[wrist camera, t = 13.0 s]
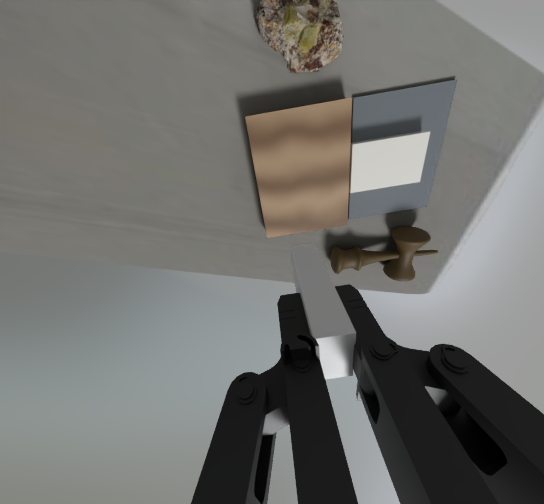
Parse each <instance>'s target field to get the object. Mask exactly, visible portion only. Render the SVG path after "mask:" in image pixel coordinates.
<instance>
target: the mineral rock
mask: <svg viewBox="0 0 544 504" xmlns="http://www.w3.org/2000/svg"><path fill="white" fill-rule="evenodd" d="M256 12H257V16H256V17H255V22H256V24H257V26H258V27H259V32H260V36H261V37H262V39H263V40H264V41H265V42H266V43H267V44H268V45H269V46H270V47H272V48H273V49H274V50H275V51H279V52H280V53H281V54H283V55H284V58H285V60H286V61H287V62H288V68H289V69H290V71H291V72H294V73H295V72H296V73H300V72H305V71H309V72H317V71H319V70H320V69H321V68H322V67H323V66H325V65H326V64H329V63H330V62H331V61H333V60H334V59H335V58H336V57H338V56H339V55H340V53H341V51H342V39H343V36H342V35H343V34H342V30H343V27H342V24H341V23H342V21H341V18H340V15H339V11H338V5H337V3H335V2H334V1H332V0H262V1H260V5H259V7H258V8H257V9H256Z"/></svg>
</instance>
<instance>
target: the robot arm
mask: <svg viewBox="0 0 544 504" xmlns="http://www.w3.org/2000/svg"><path fill="white" fill-rule="evenodd" d="M290 252H291V260H292V269H293V277H294V283H295V287H296V292H297V293H294V294H287V295H281V296H280V299H279V301H278V312H279V322H280V331H281V340H282V344H281V349H280V351H281V358H280V360H279V361H278V363H277V364H276V365H275V366H274V367H272V368H271V369H269V370H267V371H265V372H263V373H261V374H259V375H258V374H256V373H253V372H247V373H243V374H241V375H239V376H238V377H236V379H235V380H234V381H232V383H231V385H230V387H229V389H228V391H227V394H226V398H225V401H224V404H223V407H222V410H221V413H220V416H219V419H218V422H217V425H216V428H215V431H214V434H213V438H212V441H211V444H210V447H209V450H208V453H207V456H206V459H205V462H204V465H203V469H202V471H201V474H200V477H199V481H198V484H197V487H196V490H195V493H194V496H193V499H192V502H191V504H267V500H268V493H269V485H270V477H271V469H272V462H273V454H274V446H275V439H276V432H277V431H279V430H280V429H282V428H284V427H285V426H287V425H289V424H290V432H291V442H292V451H293V460H294V469H295V479H296V488H297V496H298V504H358V502H357V498H356V494H355V490H354V487H353V483H352V479H351V475H350V471H349V468H348V464H347V460H346V457H345V453H344V449H343V445H342V442H341V438H340V434H339V430H338V426H337V422H336V419H335V415H334V411H333V407H332V404H331V400H330V396H329V392H328V389H327V385H326V381H325V379H331V378H338V377H345V376H352V375H353V369H354V372H355V374H356V377H357V379H358V383H357V393H356V395H357V400H358V401H360V398H361V399H362V402H363V404H364V407H365V410H366V413H367V415H368V418H369V421H370V423H371V426H372V429H373V431H374V434H375V437H376V439H377V442H378V445H379V448H380V450H381V453H382V456H383V458H384V461H385V464H386V466H387V469H388V472H389V474H390V477H391V480H392V482H393V485H394V488H395V490H396V493H397V496H398V498H399V501H400V503H401V504H544V414H543V413H541V412H540V411H539V410H538V409H536V408H535V407H534V406H533V405H532V404H530V403H529V402H528V401H526V400H525V399H524V398H523V397H522V396H521V395H519V394H518V393H517V392H516V391H514V390H513V389H512V388H511V387H509V386H508V385H507V384H506V383H505V382H503V381H502V380H501V379H500V378H498V377H497V376H496V375H495V374H493V373H492V372H491V371H490V370H488V369H487V368H486V367H485V366H484V365H482V364H481V363H480V362H479V361H477V360H476V359H475V358H474V357H472V356H471V355H470V354H468V353H467V352H465V351H464V350H462V349H460V348H458V347H455V346H453V345H447V344H438V345H435V346H434V347H432V348H431V349H430V352H429V351H422V350H416V349H409V348H405V347H402V346H399V345H397V344H396V343H395V342H394V341H393V340H391V339H389V338H388V337H386V335H385V334H384V333H383V331H382V330H381V328H380V326H379V325H378V323H377V321H376V319H375V318H374V316H373V314H372V313H371V311H370V310H369V308H368V307H367V305H366V303H365V301H364V300H363V298H362V296H361V295H360V293H359V291H358V290H357V289H355V288H354V287H353V286H351V285H350V284H349V285H342V286H336V287H335V286H334V284H333V282H332V280H331V278H330V276H329V274H328V272H327V269H326V267H325V265H324V263H323V261H322V259H321V257H320V255H319V252H318V250H317V248H316V246H315V244H314V243H311V244H304V245H298V246H292V247H290Z"/></svg>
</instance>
